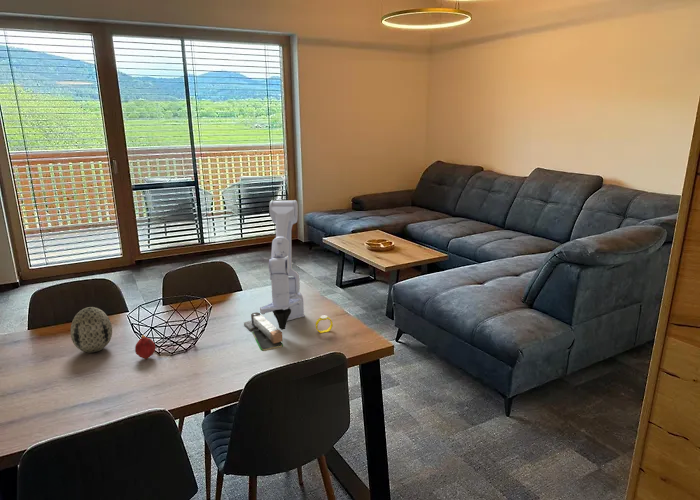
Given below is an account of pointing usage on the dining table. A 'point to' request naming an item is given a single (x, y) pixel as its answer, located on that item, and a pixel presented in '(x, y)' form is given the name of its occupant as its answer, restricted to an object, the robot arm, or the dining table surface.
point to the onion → (145, 347)
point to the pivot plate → (250, 325)
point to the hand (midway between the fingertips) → (282, 328)
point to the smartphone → (265, 341)
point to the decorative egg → (91, 330)
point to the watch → (324, 319)
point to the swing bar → (266, 327)
